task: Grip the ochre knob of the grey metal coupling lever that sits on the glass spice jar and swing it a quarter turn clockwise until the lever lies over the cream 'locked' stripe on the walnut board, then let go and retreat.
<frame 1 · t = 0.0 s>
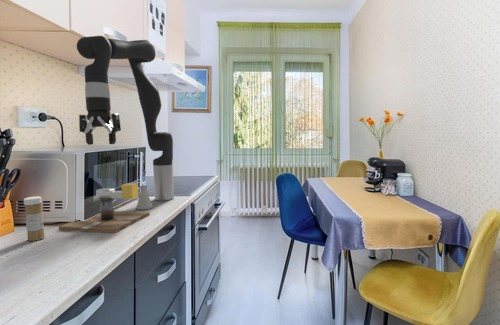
hand: (101, 144, 106), 29 cm above the countertop, tool pointing down, fingers open, 8 cm apart
board: (107, 221, 114), on the countertop
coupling: (116, 190, 112), point 12 cm above the countertop, hinge at 90.0°
flask: (144, 208, 134), on the countertop
sprinkles bottle: (36, 239, 97), on the countertop
glass spice jar: (106, 208, 114), on the board, point 5 cm above the countertop
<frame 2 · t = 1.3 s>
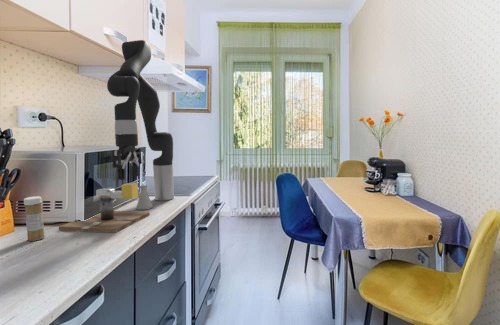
hand: (128, 177, 110), 17 cm above the countertop, tool pointing down, fingers open, 8 cm apart
nothing on the countertop moved.
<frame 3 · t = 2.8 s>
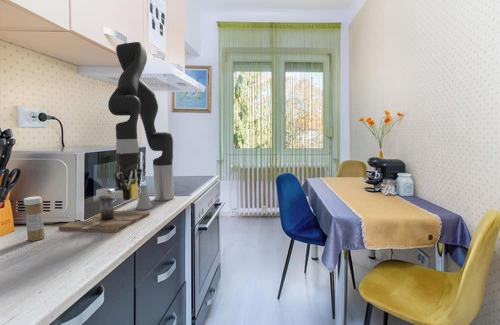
hand: (130, 198, 111), 9 cm above the countertop, tool pointing down, fingers closed on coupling, 4 cm apart
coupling: (116, 190, 112), point 12 cm above the countertop, hinge at 90.0°, touching gripper
everything else where it was.
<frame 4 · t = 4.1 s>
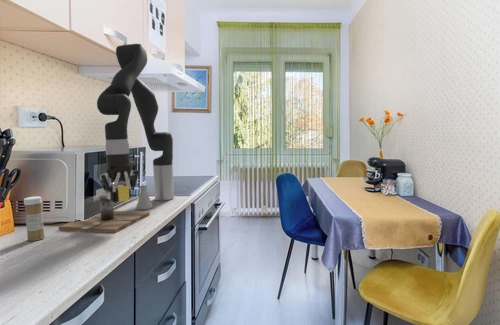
hand: (121, 200, 107), 9 cm above the countertop, tool pointing down, fingers closed on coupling, 4 cm apart
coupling: (112, 191, 110), point 12 cm above the countertop, hinge at 64.7°, touching gripper
everything else where it was.
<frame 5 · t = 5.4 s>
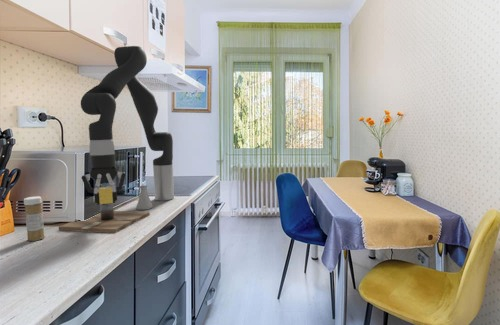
hand: (106, 203, 104), 9 cm above the countertop, tool pointing down, fingers closed on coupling, 4 cm apart
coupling: (105, 192, 109), point 12 cm above the countertop, hinge at 36.4°, touching gripper
everything else where it was.
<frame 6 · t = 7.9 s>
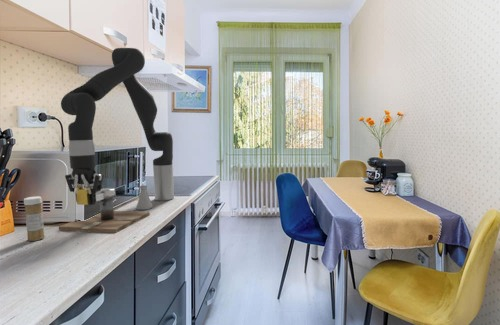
hand: (86, 203, 103), 9 cm above the countertop, tool pointing down, fingers closed on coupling, 4 cm apart
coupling: (97, 192, 109), point 12 cm above the countertop, hinge at -0.5°, touching gripper
everything else where it was.
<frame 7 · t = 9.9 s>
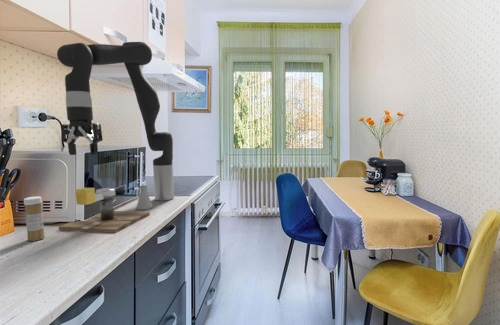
hand: (83, 154, 103), 26 cm above the countertop, tool pointing down, fingers open, 8 cm apart
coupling: (97, 192, 109), point 12 cm above the countertop, hinge at -1.6°
everything else where it was.
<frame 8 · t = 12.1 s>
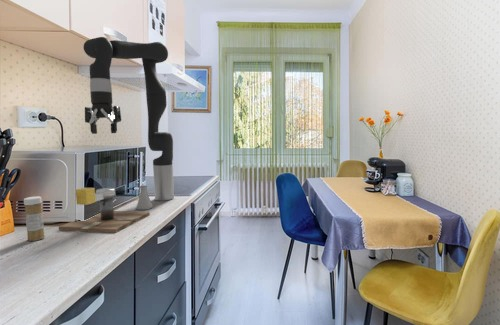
hand: (104, 133, 120), 33 cm above the countertop, tool pointing down, fingers open, 8 cm apart
nothing on the countertop moved.
at the end: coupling at -2° (first picture: +90°); the gripper is holding nothing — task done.
